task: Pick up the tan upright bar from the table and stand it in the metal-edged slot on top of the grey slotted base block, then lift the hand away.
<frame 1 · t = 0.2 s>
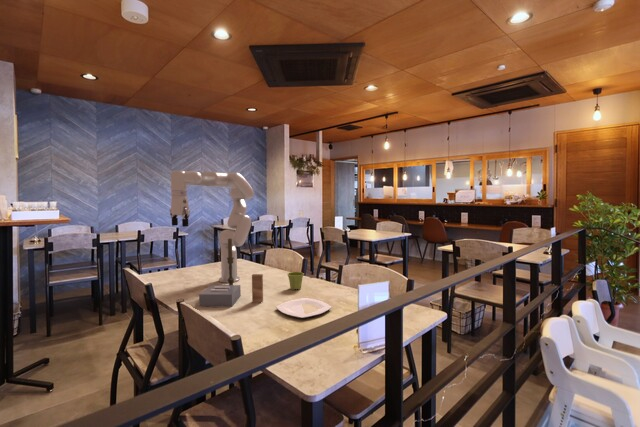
hand: (180, 225, 182), 37 cm above the table, tool pointing down, fingers open, 9 cm apart
tan upright bar: (257, 301, 170), on the table
grey slotted base block: (221, 301, 172), on the table
plate: (303, 311, 159), on the table
plant pot: (295, 289, 193), on the table
candlestick holder: (231, 290, 190), on the table
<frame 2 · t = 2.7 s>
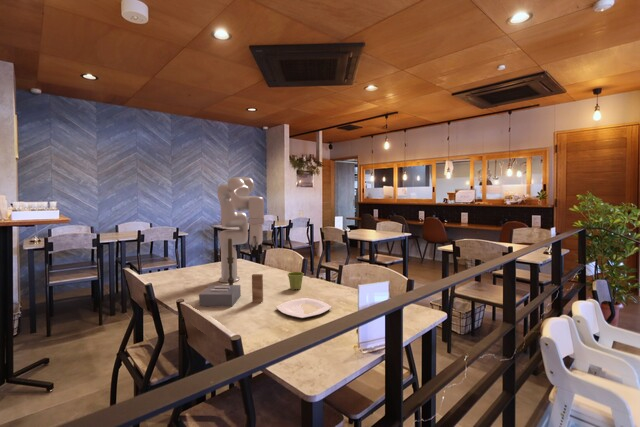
hand: (257, 255, 169), 24 cm above the table, tool pointing down, fingers open, 9 cm apart
nothing on the table moved.
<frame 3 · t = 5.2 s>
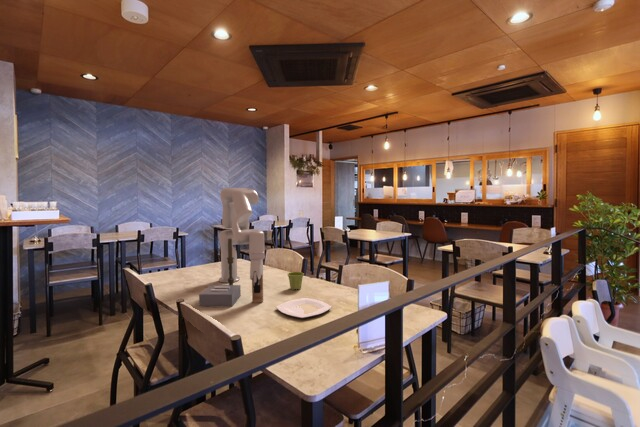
hand: (257, 291, 170), 5 cm above the table, tool pointing down, fingers closed on tan upright bar, 2 cm apart
tan upright bar: (257, 302, 170), on the table, touching gripper
everything else where it was.
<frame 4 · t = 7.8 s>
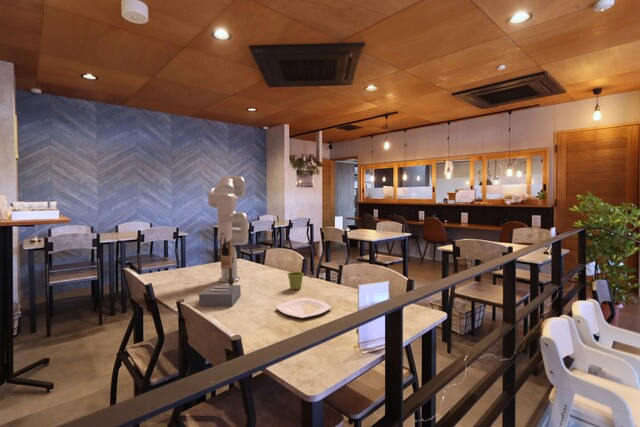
hand: (226, 254, 170), 24 cm above the table, tool pointing down, fingers closed on tan upright bar
tan upright bar: (226, 268, 170), point 17 cm above the table, touching gripper
everything else where it was.
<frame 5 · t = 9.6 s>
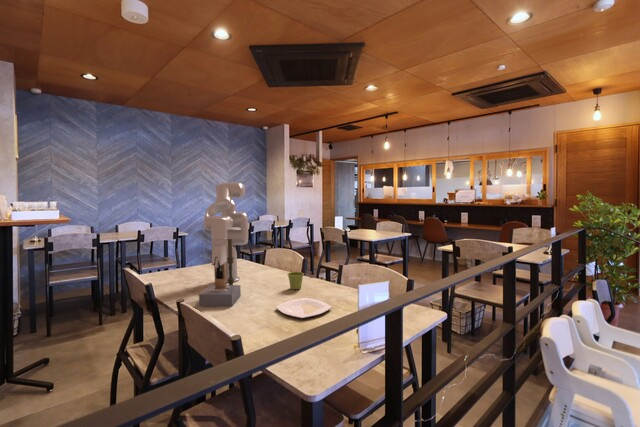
hand: (220, 277, 171), 12 cm above the table, tool pointing down, fingers closed on tan upright bar
tan upright bar: (220, 291, 171), point 5 cm above the table, touching gripper
everything else where it was.
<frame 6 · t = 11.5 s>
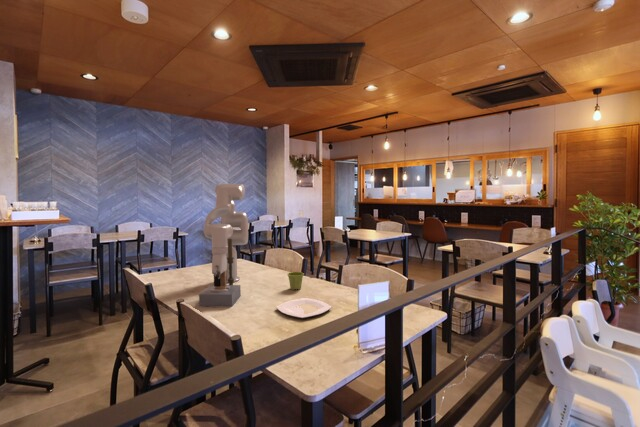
hand: (220, 283, 171), 9 cm above the table, tool pointing down, fingers open, 9 cm apart
tan upright bar: (221, 298, 172), point 2 cm above the table, touching grey slotted base block
everything else where it was.
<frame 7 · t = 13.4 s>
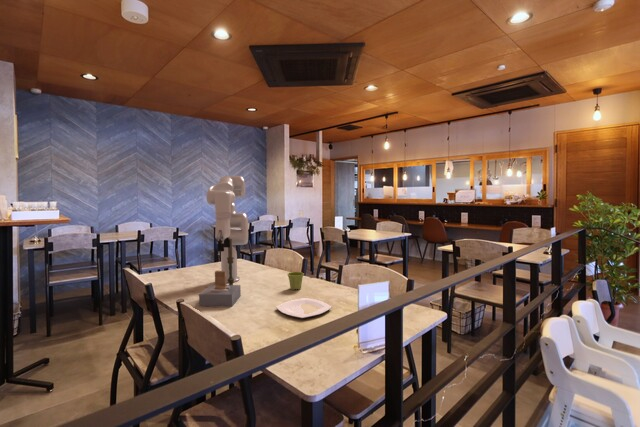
hand: (224, 249, 172), 26 cm above the table, tool pointing down, fingers open, 9 cm apart
nothing on the table moved.
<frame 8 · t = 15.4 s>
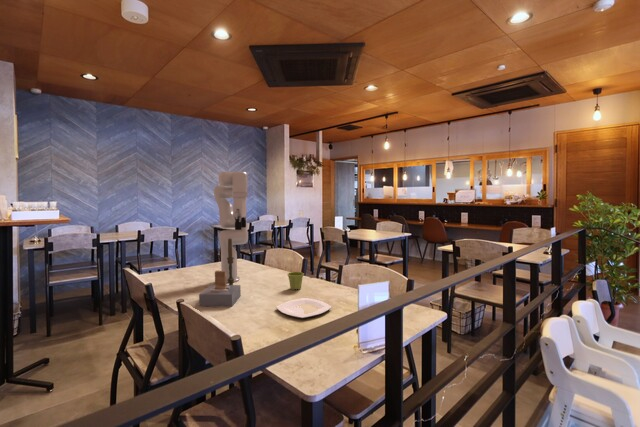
hand: (240, 228, 176), 36 cm above the table, tool pointing down, fingers open, 9 cm apart
nothing on the table moved.
at the end: tan upright bar 0.3 cm off-centre on the grey slotted base block, point 1.5 cm above the grey slotted base block's base; tan upright bar tilted 0°; the gripper is holding nothing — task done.
